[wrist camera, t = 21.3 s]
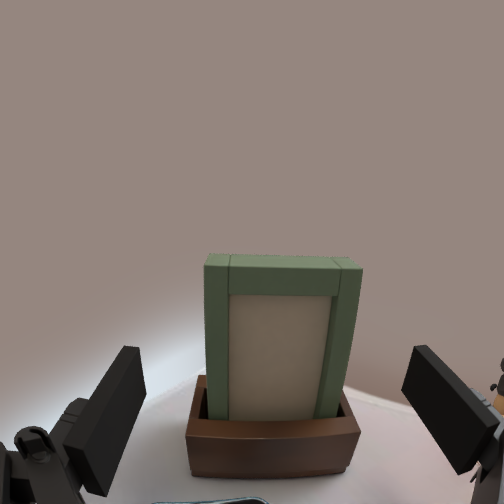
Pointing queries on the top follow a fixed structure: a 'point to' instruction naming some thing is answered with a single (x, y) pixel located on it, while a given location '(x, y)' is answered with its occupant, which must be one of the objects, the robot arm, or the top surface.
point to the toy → (499, 393)
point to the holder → (268, 443)
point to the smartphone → (224, 501)
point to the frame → (278, 335)
